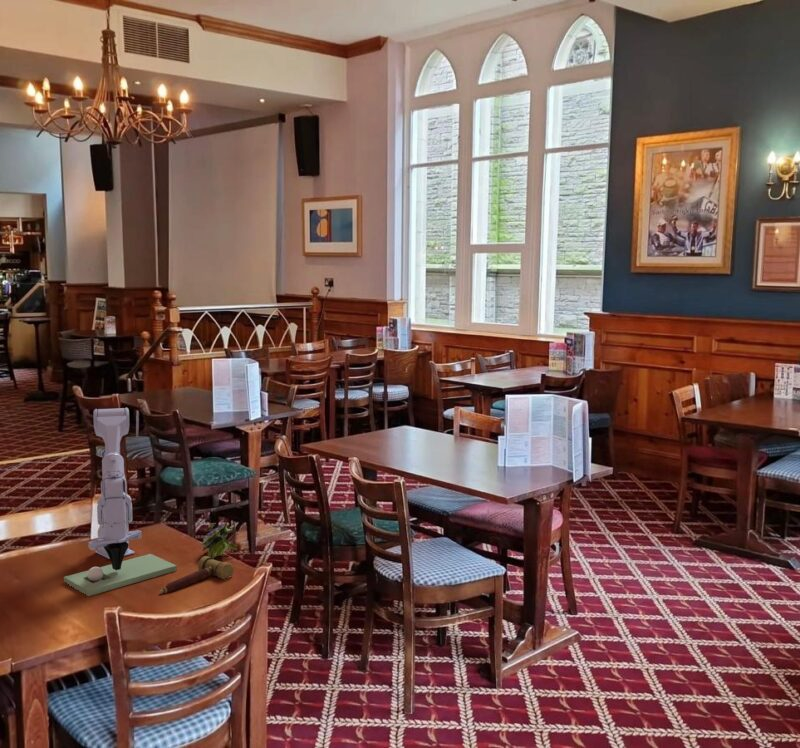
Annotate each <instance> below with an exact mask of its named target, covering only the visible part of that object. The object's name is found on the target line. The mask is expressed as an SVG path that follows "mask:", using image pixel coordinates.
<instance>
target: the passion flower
mask: <svg viewBox="0 0 800 748" xmlns="http://www.w3.org/2000/svg"><path fill="white" fill-rule="evenodd" d="M216 524H217V523H216V522H213V523H210V525H207V526H206V527H205V530H204V532H205V533H206V536H204V537H203V538H202V541H201V545H202V551H205V550H207V556H208V557H211V558H213V559H215V558H216V557H217V556H219V557H221V556H222V555H223V554H224V553H225V552H226V551H227V550H229V548H230V549H231V551H230V552H231V555H232V556H233V555H234V551H238V548H237V546H236V545H235V544H234V537H235V532H236V529H237V527H236V526H235V524H232V525H231V526H229V525H228V522H227V521H225V523H223V524H222V523H221V524H219V525H218V526H217V525H216ZM215 526H216V528H214V527H215ZM228 526H229V528H228ZM209 531H210V532H209ZM207 532H209V533H207ZM230 533H231V534H232V533H233V534H232V538H231V541H227V537H228V534H230Z"/></svg>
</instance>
